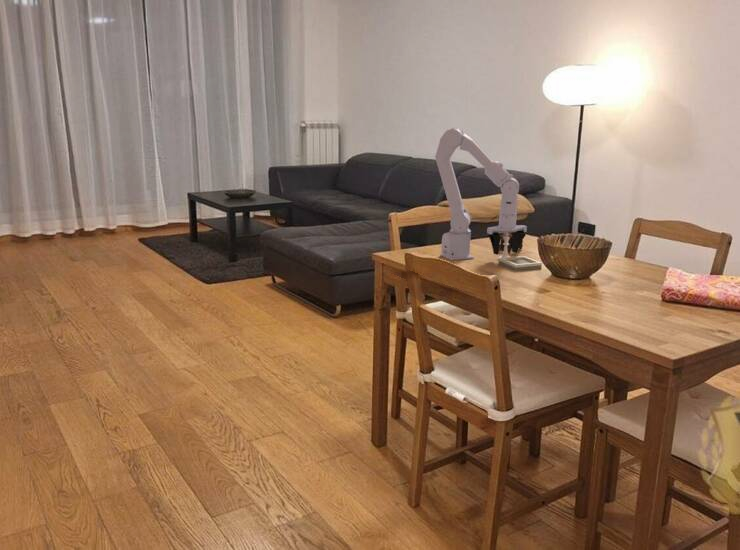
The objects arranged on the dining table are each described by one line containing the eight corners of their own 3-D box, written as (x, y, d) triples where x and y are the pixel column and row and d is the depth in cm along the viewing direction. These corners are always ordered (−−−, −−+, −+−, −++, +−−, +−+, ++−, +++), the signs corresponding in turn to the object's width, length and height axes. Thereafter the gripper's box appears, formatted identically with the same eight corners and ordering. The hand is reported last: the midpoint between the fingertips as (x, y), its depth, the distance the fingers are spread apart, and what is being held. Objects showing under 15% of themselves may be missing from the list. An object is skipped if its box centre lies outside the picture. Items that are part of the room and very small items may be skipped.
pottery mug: (489, 250, 242) (496, 230, 243) (509, 260, 246) (515, 239, 247) (510, 249, 231) (516, 227, 232) (530, 259, 235) (536, 237, 236)
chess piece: (507, 262, 223) (509, 233, 220) (494, 259, 226) (496, 231, 223) (514, 260, 226) (517, 231, 223) (502, 257, 229) (504, 229, 227)
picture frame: (515, 271, 212) (515, 265, 211) (498, 263, 220) (499, 258, 220) (541, 268, 215) (541, 262, 215) (523, 261, 224) (524, 255, 224)
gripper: (496, 217, 215) (493, 257, 219) (533, 215, 221) (529, 254, 224) (484, 213, 222) (482, 252, 225) (521, 211, 227) (518, 249, 231)
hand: (505, 253), depth 225 cm, fingers open, 7 cm apart
